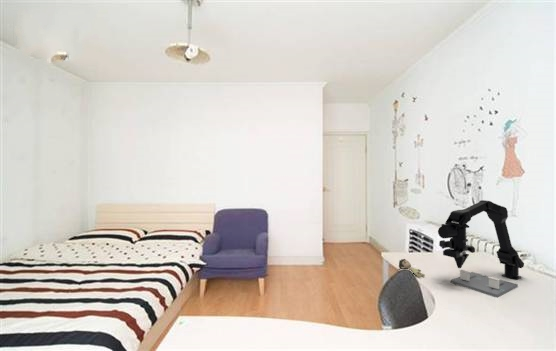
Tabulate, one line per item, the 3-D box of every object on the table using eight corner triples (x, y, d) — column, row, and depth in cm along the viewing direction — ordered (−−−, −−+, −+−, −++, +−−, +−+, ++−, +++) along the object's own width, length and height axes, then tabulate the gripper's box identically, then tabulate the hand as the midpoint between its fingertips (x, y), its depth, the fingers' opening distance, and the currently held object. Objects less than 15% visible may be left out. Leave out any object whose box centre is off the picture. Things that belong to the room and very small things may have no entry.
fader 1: (461, 277, 142) (461, 269, 142) (470, 280, 138) (470, 272, 138) (459, 278, 141) (459, 270, 141) (468, 281, 137) (468, 272, 137)
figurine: (418, 272, 144) (396, 258, 158) (416, 283, 146) (394, 268, 159) (428, 270, 147) (406, 256, 161) (426, 280, 149) (404, 266, 162)
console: (472, 274, 151) (472, 270, 151) (517, 286, 134) (517, 283, 134) (450, 282, 140) (450, 278, 140) (497, 297, 123) (497, 293, 123)
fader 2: (489, 285, 132) (489, 276, 132) (499, 288, 129) (499, 279, 128) (487, 286, 131) (487, 277, 131) (498, 289, 128) (497, 280, 127)
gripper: (452, 231, 148) (452, 260, 148) (432, 236, 139) (432, 266, 139) (475, 235, 139) (475, 266, 139) (455, 240, 129) (455, 273, 129)
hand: (459, 268), depth 137 cm, fingers closed
